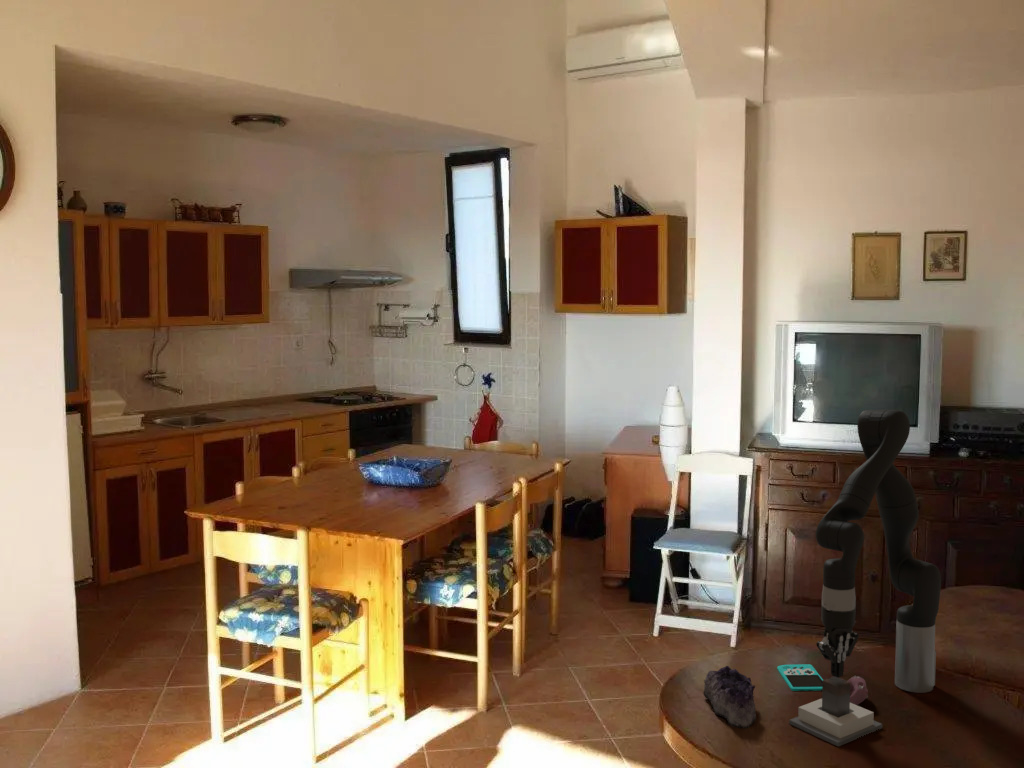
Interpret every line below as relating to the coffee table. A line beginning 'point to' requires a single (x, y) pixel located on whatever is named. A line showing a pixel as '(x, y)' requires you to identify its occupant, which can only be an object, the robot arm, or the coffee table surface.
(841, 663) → the robot arm
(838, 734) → the socket
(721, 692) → the geode
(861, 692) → the video game controller
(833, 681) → the plug
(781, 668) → the handheld game console
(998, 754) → the coffee table surface
